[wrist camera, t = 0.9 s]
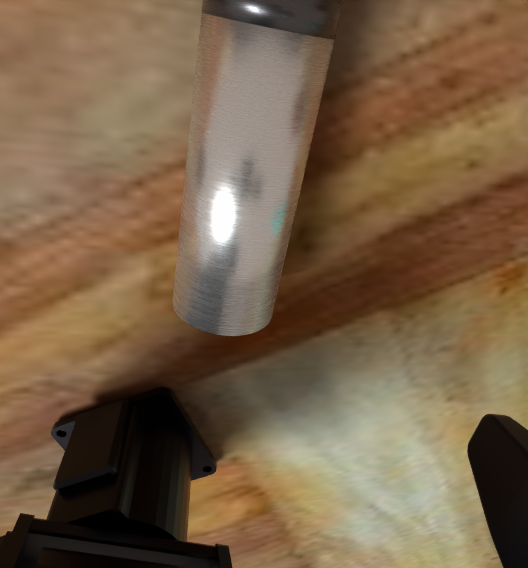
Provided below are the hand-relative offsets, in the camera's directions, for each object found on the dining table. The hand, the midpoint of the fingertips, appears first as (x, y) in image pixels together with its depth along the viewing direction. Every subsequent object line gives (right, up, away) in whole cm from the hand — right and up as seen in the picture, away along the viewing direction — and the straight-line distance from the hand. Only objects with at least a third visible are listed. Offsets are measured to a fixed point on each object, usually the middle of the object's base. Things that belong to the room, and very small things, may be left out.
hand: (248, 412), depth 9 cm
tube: (0, +9, +8) cm, 12 cm away
